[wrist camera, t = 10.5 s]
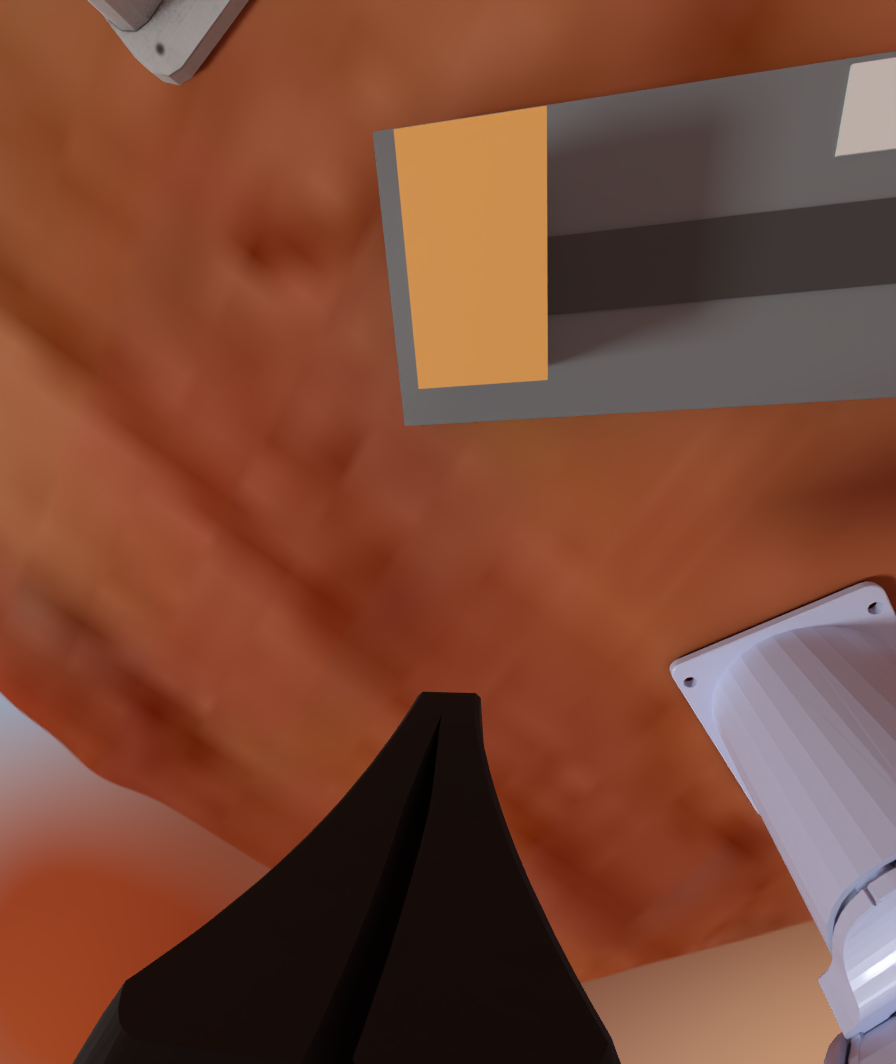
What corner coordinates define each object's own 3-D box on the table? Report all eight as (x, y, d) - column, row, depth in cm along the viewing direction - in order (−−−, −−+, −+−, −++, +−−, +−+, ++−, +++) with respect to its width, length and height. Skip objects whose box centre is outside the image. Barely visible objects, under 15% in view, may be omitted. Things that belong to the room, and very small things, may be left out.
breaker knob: (538, 170, 13) (546, 105, 9) (540, 369, 15) (547, 379, 11) (427, 185, 13) (393, 129, 10) (442, 376, 15) (418, 389, 11)
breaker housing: (982, 70, 13) (1065, 22, 11) (902, 387, 16) (957, 394, 14) (390, 157, 15) (371, 130, 13) (416, 416, 18) (404, 426, 16)
